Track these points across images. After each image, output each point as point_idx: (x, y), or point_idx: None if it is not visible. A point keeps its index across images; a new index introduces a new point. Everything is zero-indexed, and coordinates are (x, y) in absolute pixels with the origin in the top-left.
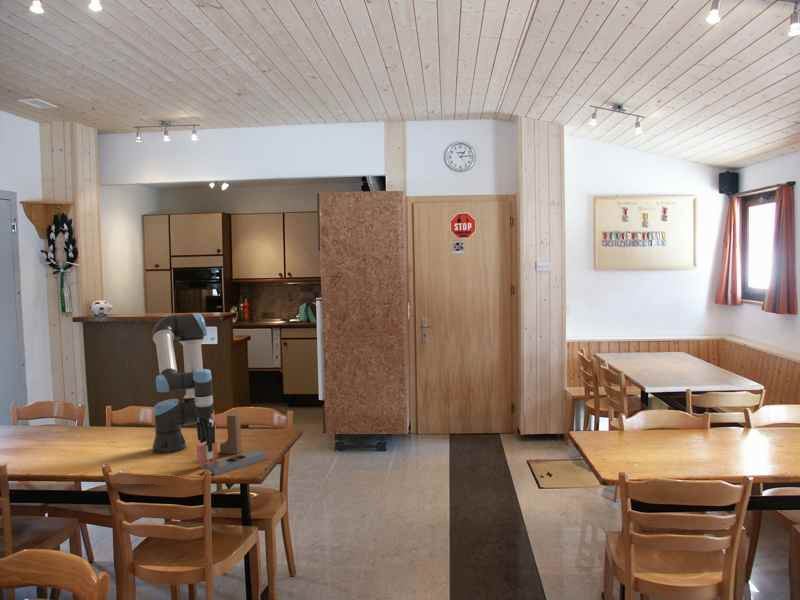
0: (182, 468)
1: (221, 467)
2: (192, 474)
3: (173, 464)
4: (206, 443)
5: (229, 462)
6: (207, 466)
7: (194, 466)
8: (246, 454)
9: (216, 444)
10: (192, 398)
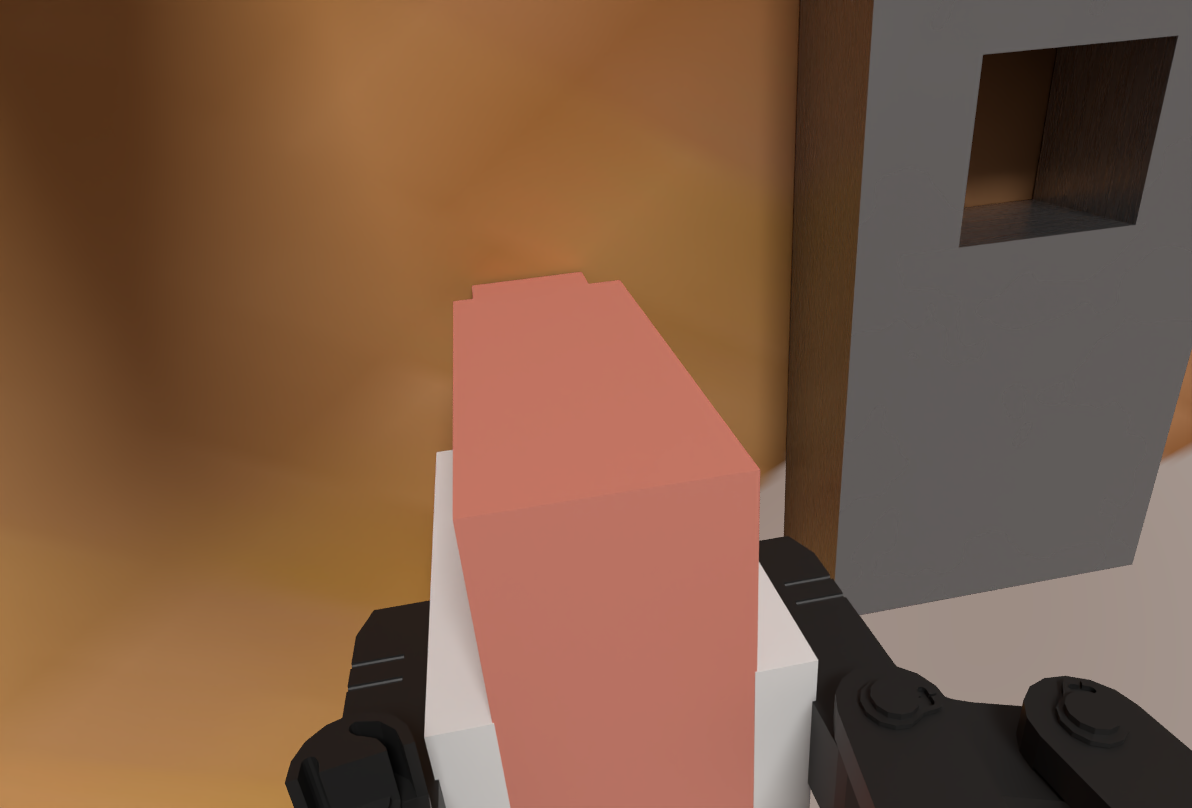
0: None
1: (1150, 434)
2: None
3: (15, 784)
4: (650, 786)
5: (1145, 242)
6: (935, 597)
7: (390, 583)
8: None
9: (719, 427)
10: None
